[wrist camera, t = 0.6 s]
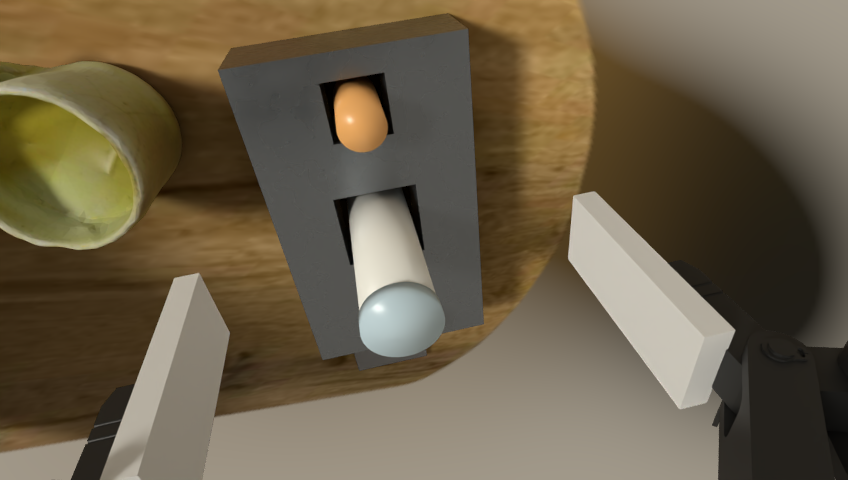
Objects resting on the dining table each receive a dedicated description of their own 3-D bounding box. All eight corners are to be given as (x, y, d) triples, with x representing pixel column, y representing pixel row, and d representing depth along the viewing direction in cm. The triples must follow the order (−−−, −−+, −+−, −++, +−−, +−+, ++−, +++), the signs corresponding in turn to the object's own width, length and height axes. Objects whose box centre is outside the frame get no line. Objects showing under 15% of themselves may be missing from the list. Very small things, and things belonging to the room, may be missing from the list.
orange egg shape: (338, 119, 31) (342, 156, 27) (328, 77, 30) (331, 108, 25) (379, 112, 31) (391, 147, 27) (372, 69, 30) (383, 99, 25)
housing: (321, 318, 44) (322, 360, 40) (230, 48, 30) (217, 70, 26) (468, 287, 45) (483, 324, 41) (447, 13, 31) (468, 28, 27)
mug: (243, 148, 31) (144, 229, 23) (151, 204, 36) (40, 289, 28) (99, -36, 26) (-92, -14, 18) (11, 56, 31) (-174, 106, 23)
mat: (358, 366, 48) (359, 370, 48) (344, 317, 44) (344, 322, 44) (425, 351, 49) (426, 355, 48) (417, 301, 45) (418, 306, 44)
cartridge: (351, 222, 38) (368, 364, 26) (338, 171, 36) (351, 305, 24) (406, 210, 39) (448, 346, 27) (398, 160, 36) (441, 286, 24)
